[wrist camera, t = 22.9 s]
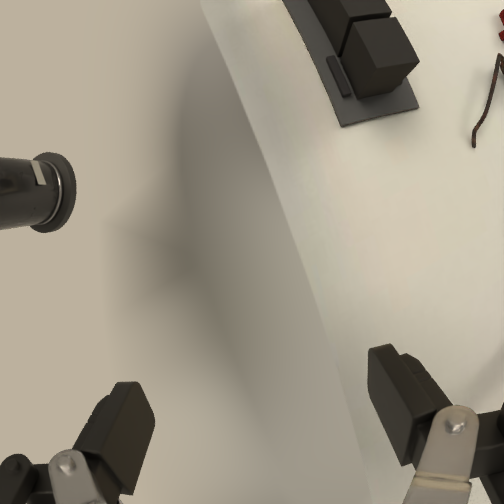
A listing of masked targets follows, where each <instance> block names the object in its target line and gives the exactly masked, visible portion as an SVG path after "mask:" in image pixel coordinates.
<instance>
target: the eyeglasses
mask: <svg viewBox="0 0 504 504" xmlns="http://www.w3.org/2000/svg"><path fill="white" fill-rule="evenodd" d="M500 61H501V64H500ZM499 66H500V69H501V71H502V73H503V74H504V57H503V56H502V55H501V54H500V53H498V55H497V59H496V64H495V69H494V74H493V79H492V84H491V88H490V93H489V96H488V100H487V104H486V107H485V110H484V113H483V115H482V117H481V119H480V120H479V122H478V123H477V125H476V126H475V127H474V129H473V132H472V147H474V148H475V147H476V132H477V130H478V129H479V127H480V126H481V124H482V123H483V121H484V119H485V118H486V116H487V113H488V110H489V107H490V104H491V100H492V96H493V92H494V89H495V84H496V80H497V76H498V71H499Z"/></svg>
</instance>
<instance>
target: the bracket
mask: <svg viewBox="0 0 504 504" xmlns="http://www.w3.org/2000/svg"><path fill="white" fill-rule="evenodd" d="M499 16H500V18H501V20H502V23H503V25H504V9H503V10H502V11H501V13H500V15H499ZM499 36H500V39H501V40H502V41H504V30H503V31H502V32H500V33H499Z"/></svg>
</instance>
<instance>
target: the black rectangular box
mask: <svg viewBox="0 0 504 504" xmlns="http://www.w3.org/2000/svg"><path fill="white" fill-rule="evenodd" d="M419 62H420V61H419V59H418V57H417V55H416V53H415V51H414V49H413V47H412V45H411V43H410V41H409V39H408V38H407V36H406V34H405V32H404V30H403V29H402V27H401V25H400V23H399V22H398V20H397V18H396V17H391V18H382V19H373V20H366V21H359V22H353V24H352V27H351V30H350V33H349V36H348V39H347V42H346V45H345V48H344V51H343V54H342V57H341V60H340V63H341V65H342V67H343V69H344V71H345V73H346V76H347V78H348V80H349V82H350V85H351V87H352V89H353V92H354V94H355V96H356V99H357V100H358V99H362V98H366V97H371V96H375V95H380V94H385V93H390V92H392V91H393V90H394V89H395V88H396V87H397V86H398V85H399V84H400V83H401V82H402V81H403V79H404V78H405V77H406V76H407V75H408V74H409V73H410V72H411V71H412V70H413V69H414V68H415V67H416V65H417V64H418V63H419Z"/></svg>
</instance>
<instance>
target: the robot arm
mask: <svg viewBox="0 0 504 504" xmlns="http://www.w3.org/2000/svg"><path fill="white" fill-rule="evenodd" d="M63 198H64V182H63V178H62V175H61V172H60V170H59V168H58V167H57V166H56V165H55V164H54V163H52V162H50V161H43V160H40V161H36V160H27V159H15V158H1V157H0V230H3V229H10V228H17V227H22V226H31V225H43V224H47V223H49V222H51V221H52V220H53V219H54V218H55V217H56V216H57V214H58V213H59V211H60V209H61V206H62V202H63ZM367 384H368V392H369V396H370V399H371V401H372V403H373V405H374V408H375V410H376V412H377V414H378V416H379V418H380V420H381V423H382V425H383V427H384V429H385V431H386V433H387V436H388V438H389V440H390V442H391V444H392V447H393V449H394V451H395V453H396V456H397V458H398V460H399V462H400V465H401V467H402V466H405V465H407V464H410V463H412V464H413V466H414V468H415V470H416V473H415V475H414V477H413V480H412V482H411V485H410V487H409V489H408V492H407V494H406V496H405V499H404V501H403V503H402V504H468V500H469V497H470V493H471V487H472V483H471V482H469V479H472V478H477V477H479V478H480V480H481V482H482V484H483V486H484V488H485V490H486V492H487V494H488V496H489V499H490V501H491V503H492V504H504V403H503V405H502V408H501V410H498V411H493V412H488V413H482V414H476V413H475V412H474V411H473V410H471V409H470V408H468V407H465V406H460V405H454V406H453V404H452V403H451V402H450V401H449V399H448V398H447V396H446V395H445V394H444V392H443V391H442V390H441V389H440V387H439V386H438V385H437V383H436V382H435V381H434V379H433V378H431V375H430V374H429V373H428V372H427V371H426V370H425V368H424V366H423V365H422V364H421V363H420V361H419V360H418V359H416V358H414V357H412V356H411V355H409V354H407V353H406V354H403V355H399V354H398V352H397V351H396V349H395V348H394V347H393V345H392V344H390V343H389V344H385V345H381V346H378V347H374V348H370V349H369V351H368V381H367ZM154 427H155V417H154V413H153V411H152V409H151V407H150V405H149V402H148V401H147V398H146V396H145V394H144V392H143V390H142V387H141V385H140V384H139V383H138V382H117V383H116V384H115V386H114V388H113V390H112V391H111V393H110V395H107V396H105V397H104V398H103V399H102V400H101V401H100V402H99V403H98V404H97V405H96V407H95V409H94V410H93V412H92V415H91V416H90V417H89V419H88V423H86V425H85V426H84V428H83V430H82V431H81V433H80V435H79V437H78V439H77V440H76V442H75V444H74V446H73V448H72V449H68V450H64V451H61V452H59V453H57V454H56V455H55V456H54V457H53V458H52V459H51V460H50V462H49V464H34V465H33V464H32V463H31V462H30V460H29V459H28V458H27V457H26V456H25V455H22V454H14V455H11V456H9V457H7V458H6V459H5V460H4V461H3V462H2V464H1V465H0V504H26V503H27V504H123V503H122V502H121V500H120V499H119V496H120V494H126V495H133V493H134V490H135V486H136V483H137V480H138V477H139V474H140V470H141V467H142V464H143V461H144V458H145V455H146V452H147V449H148V446H149V443H150V440H151V437H152V434H153V431H154Z"/></svg>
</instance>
